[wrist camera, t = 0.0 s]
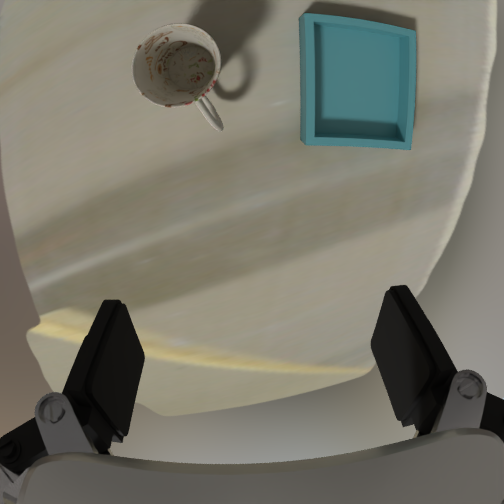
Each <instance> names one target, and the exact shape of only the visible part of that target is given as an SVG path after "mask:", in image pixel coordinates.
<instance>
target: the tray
mask: <svg viewBox="0 0 504 504" xmlns="http://www.w3.org/2000/svg"><path fill="white" fill-rule="evenodd" d="M299 39H300V89H301V136H300V140H301V141H302V142H303V143H304V144H305V145H322V146H356V147H375V148H390V149H403V150H411V144H412V134H413V123H414V109H415V90H416V31H414V30H410V29H406V28H402V27H398V26H393V25H388V24H384V23H378V22H373V21H368V20H362V19H355V18H348V17H341V16H332V15H323V14H311V13H304V14H303V15H302V16H301V17H300V18H299Z"/></svg>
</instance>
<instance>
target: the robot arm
mask: <svg viewBox="0 0 504 504" xmlns="http://www.w3.org/2000/svg"><path fill="white" fill-rule="evenodd" d="M371 349H372V352H373V355H374V357H375V360H376V363H377V365H378V368H379V371H380V373H381V376H382V379H383V382H384V384H385V387H386V390H387V393H388V396H389V398H390V401H391V404H392V407H393V410H394V413H395V416H396V418H397V420H399V421H401V423H402V425H403V427H405V426H409V425H413V424H414V425H415V428H416V430H417V431H416V433H415V435H414V437H413V439H409V440H405V441H401V442H398V443H393V444H389V445H384V446H380V447H376V448H371V449H367V450H362V451H357V452H352V453H346V454H341V455H334V456H328V457H321V458H314V459H306V460H296V461H287V462H273V463H256V464H192V463H174V462H163V461H152V460H142V459H134V458H126V457H118V456H114V455H113V454H112V452H111V450H110V446H111V442H119V443H122V442H123V437H124V436H127V434H128V431H129V427H130V422H131V417H132V412H133V408H134V403H135V399H136V395H137V390H138V386H139V382H140V377H141V373H142V369H143V365H144V360H145V355H144V351H143V349H142V346H141V344H140V341H139V339H138V336H137V334H136V331H135V329H134V326H133V323H132V321H131V318H130V315H129V313H128V310H127V307H126V305H125V304H122V303H121V301H120V300H104V301H103V303H102V305H101V307H100V309H99V311H98V313H97V315H96V317H95V320H94V322H93V324H92V326H91V328H90V331H89V333H88V335H87V336H86V337H85V338H84V340H83V343H82V345H81V347H80V350H79V352H78V354H77V357H76V359H75V361H74V364H73V366H72V369H71V371H70V374H69V376H68V379H67V381H66V384H65V387H64V389H63V392H62V393H58V392H52V393H49V394H46V395H45V396H43V397H42V398H41V399H40V400H39V401H38V403H37V405H36V407H35V417H34V418H33V419H31V420H29V421H27V422H26V423H24V424H22V425H21V426H19V427H17V428H16V429H14V430H12V431H10V432H9V433H7V434H5V435H4V436H3V437H1V438H0V504H504V400H503V399H501V398H499V397H497V396H494V395H492V394H490V393H488V392H487V386H486V383H485V381H484V379H483V378H482V376H480V375H479V374H478V373H476V372H475V371H472V370H462V371H459V372H458V371H457V370H456V368H455V366H454V364H453V362H452V360H451V358H450V357H449V355H448V353H447V351H446V349H445V347H444V346H443V344H442V342H441V340H440V338H439V337H438V335H437V333H436V331H435V330H434V328H433V326H432V325H431V323H430V321H429V320H428V319H427V317H426V315H425V314H424V312H423V310H422V309H421V307H420V305H419V304H418V302H417V301H416V299H415V297H414V296H413V294H412V293H411V291H410V290H409V288H408V287H407V286H406V285H399V286H391V287H390V289H389V290H388V291H386V293H385V296H384V299H383V303H382V306H381V310H380V313H379V317H378V320H377V323H376V327H375V330H374V333H373V336H372V339H371Z"/></svg>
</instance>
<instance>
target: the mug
mask: <svg viewBox="0 0 504 504" xmlns="http://www.w3.org/2000/svg"><path fill="white" fill-rule="evenodd" d="M220 70H221V54H220V50H219V48H218V46H217V44H216V42H215V40H214V39H213V38H212V37H211V36H210V35H209V34H208V33H207V32H206V31H204V30H203V29H201V28H199V27H197V26H194V25H190V24H184V23H176V24H169V25H166V26H163V27H160V28H158V29H156V30H155V31H153V32H151V33H150V34H149V35H148V36H146V37H145V38H144V40H143V41H142V42H141V43H140V45H139V46H138V48H137V50H136V52H135V54H134V57H133V61H132V77H133V81H134V83H135V86H136V87H137V89H138V91H139V92H140V93H141V94H142V95H143V96H144V97H145V98H146V99H147V100H149V101H150V102H152V103H154V104H157V105H159V106H163V107H182V106H186V105H189V104H192V103H194V102H195V104H196V105H197V107H198V108H199V110H200V111H201V113H202V114H203V116H204V117H205V118H206V120H207V121H208V122H209V123H210V124H211V126H212V127H214V128H215V129H216V130H217V131H222V130H223V128H224V127H223V123H222V121H221V119H220V117H219V115H218V114H217V112H216V110H215V108H214V106H213V105H212V103H211V102H210V101H209V99H208V98H207V97H206V96H205V95H206V94H207V93H208V92H209V91H210V90H211V89H212V88H213V86H214V85H215V83H216V81H217V79H218V77H219V74H220Z"/></svg>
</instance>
